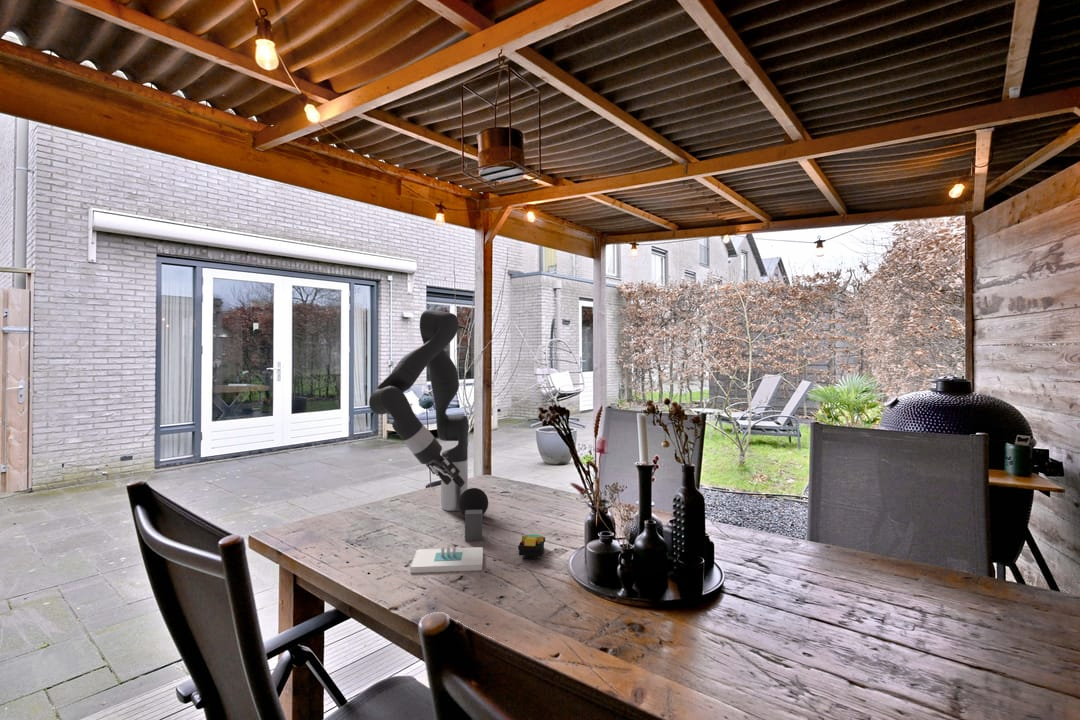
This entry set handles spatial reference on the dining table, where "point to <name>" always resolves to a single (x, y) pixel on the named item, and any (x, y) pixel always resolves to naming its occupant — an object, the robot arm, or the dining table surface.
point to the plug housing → (473, 525)
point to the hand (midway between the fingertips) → (455, 484)
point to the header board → (447, 560)
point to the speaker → (473, 500)
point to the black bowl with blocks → (531, 546)
